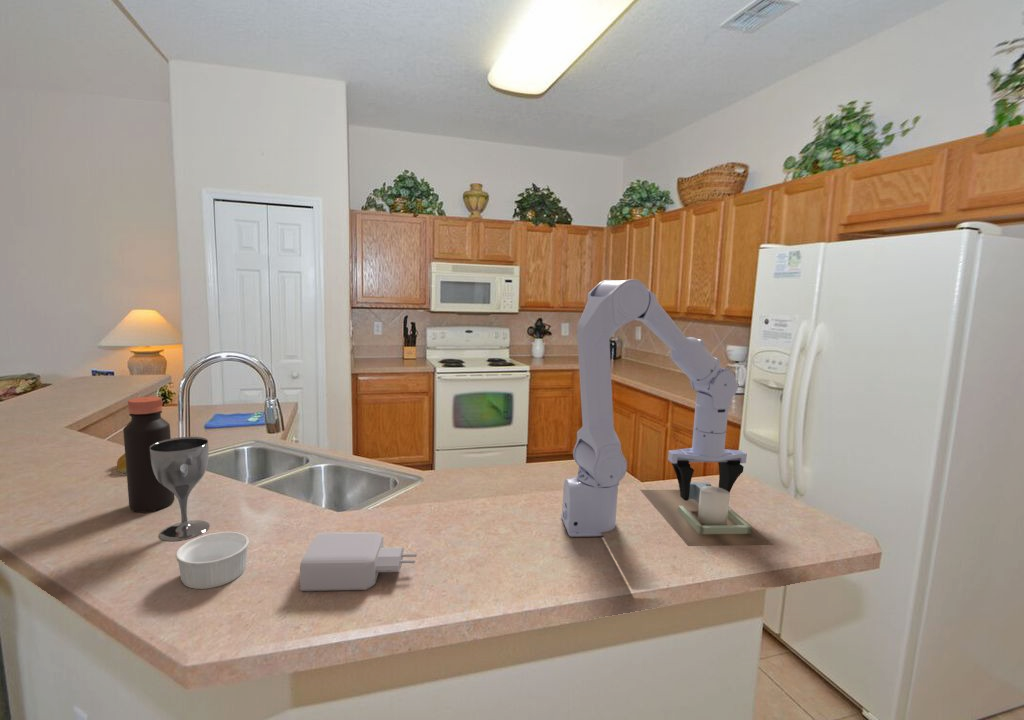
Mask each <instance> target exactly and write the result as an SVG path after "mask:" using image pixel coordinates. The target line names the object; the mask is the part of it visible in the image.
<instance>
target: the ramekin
mask: <svg viewBox="0 0 1024 720" xmlns="http://www.w3.org/2000/svg"><path fill="white" fill-rule="evenodd" d="M249 541H250V540H249V537H248V536H247V535H246V534H243V533H242V532H241V533H240V532H237V531H236V532H235V531H218V532H214V533H213V532H212V533H208V534H205V535H203V534H202V535H199V536H196V537H194V538H192V539H189V541H186V543H184V544H182V545H181V546H180V547H179V548H178V549H177V550H176V552H175V558H176V561H177V563H178V569H179V574H180V580H181V582H182V583H183V584H184V586H186V587H188V588H190V589H195V590H207V589H213V588H218V587H221V586H224V585H227V584H229V583H230V582H232V581H235V580H236V579H237V578H239V577H240V576H241V575H242V574H243V573H244V571H245V570H246V568H247V554H248V548H249V544H250V542H249Z"/></svg>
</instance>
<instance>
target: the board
mask: <svg viewBox="0 0 1024 720" xmlns="http://www.w3.org/2000/svg"><path fill="white" fill-rule="evenodd" d="M640 491H641V493H642V494H643V495H644V496H645V498H646V499H647V500H648V501H649V503H651V505H652V506H653V507H654V508H655V509H656V511H657V512H659V514H660V515H661V516H662V517H663V519H664V520H665V521H666V522H667V523H668V524H669V526H670V527H671V528H672V529H673V530H674V531H675V533H676V534H677V535H678V536H679V537H680V538H681V539H682V541H683V542H684V543H685V544H686V546H688V547H689V546H690V547H694V546H695V547H696V546H697V547H698V546H701V547H702V546H705V547H707V546H765V545H766V546H770V545H771V546H774V543H773V542H772V541H770V540H769V539H768V538H766V537H765V535H763V534H762V533H761V532H759V531H758V530H757V529H755V527H754V526H752V525H751V524H750V523H749V522H747V521H746V520H745V519H744V518H743V517H741V516H740V515H739V514H738V513H737V512H735V511H734V509H732V508H731V507H730V506H729V508H730V509H731V510H732V511H733V512H735V513H736V514H737V515H738V516H739V517H741V518H742V519H743V520H744V521H745V522H747V523H748V524H749V525H750V526H751V527H752V534H698V533H697V532H696V531H695V529H694V528H693V527H692V526H691V525H690V524H689V523H688V522H687V521H686V520H685V519H684V518H683V517H682V516H681V515H680V514H679V512H678V506H683V507H684V508H685V509H686V510H687V511H688V512H689V513H690V514H691V515H692V516H693V517H694V518H695V519H696V520H697V518H698V507H699V504H698V503H697V502H696V501H695V500H694V499H688V500H687V501H685V500H684V499H683V498H682V497H681V496H680V489H640ZM727 525H737V524H735V523H734V522H733V521H732V520H731V519H730V518H729V517H727ZM702 526H703V525H702Z"/></svg>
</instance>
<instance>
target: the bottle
mask: <svg viewBox="0 0 1024 720" xmlns="http://www.w3.org/2000/svg"><path fill="white" fill-rule="evenodd" d="M127 408H128V409H127V411H128V414H129V416H130V418H131V420H130V421H129V422H128V423H127V424H126V425H125V426H124V428H122V429H123V441H124V442H123V443H124V446H123V447H124V454H125V458H126V471H127V473H126V479H127V481H126V484H127V494H128V495H127V498H128V506H129V509H130V511H133V512H136V513H147V512H149V513H150V512H155V511H159V510H162V509H165V508H166V507H169V506H170V505H172V504H173V503H174V501H175V495H174V494H173V493H172V492H171V491H170V490H168V489H167V488H165V487H164V486H162V485H161V484H160V483H159V482H158V481H157V479H156V477H155V475H154V472H153V469H152V465H151V460H150V446H151V445H153V444H154V443H157V442H160V441H163V440H167V439H172V438H171V425H170V423H169V422H168V421H167V420H165V419H164V418H163V417H162V415H161V414H162V413H163V399H162V397H160V396H140V397H135V398H130V399H129V400H127Z"/></svg>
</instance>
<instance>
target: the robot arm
mask: <svg viewBox="0 0 1024 720" xmlns="http://www.w3.org/2000/svg"><path fill="white" fill-rule="evenodd" d="M632 321H639V322H640V323H641V322H642V324H644V325H645V326H646V327H647V328H648V329H649V330H650V331H651V332H652V333H653V334H654V335H655V336H657V337H658V339H659V340H660V341H662V342H663V343H664V345H665V346H667V347H668V348H669V349H670V354H669V356H670V360H671V361H672V362H673V363H674V364H675V365H676V366H677V368H679V369H680V370H681V372H682V373H683V374H684V375H685V376H687V378H688V379H689V384H690V387H691V389H692V390H694V391H695V392H696V395H695V397H696V398H695V407H694V408H695V409H694V417H693V418H694V420H693V428H692V429H693V430H692V442H691V444H692V445H691V447H689V448H681V449H672V450H671V449H670V450H668V452H667V453H668V454H667V455H668V457H667V461H669V462H670V464H671V466H672V468H673V470H674V473H675V475H676V478H677V479H676V480H677V482H678V487H679V488H678V490H680V496H681V497H682V498H683V499H684V500H685V501H687V500H688V499H689V494H690V483H691V482H692V478H693V475H694V472H695V469H694V468H692V467H691V464H690V463H718V473H719V478H718V487H719V488H722V489H724V490H726V491H728V492H729V493H730V492H731V490H732V488H733V486H734V484H735V482H736V480H737V479H738V478H739V477H740V475H742V473H743V472H744V466H743V465H742V464H747V455H748V454H747V452H745V451H743V450H737V449H725V448H726V440H727V439H726V437H727V429H728V428H727V427H728V417H729V409H730V407H731V406H732V401H733V400H732V399H733V398H734V396H735V395H736V394H737V391H738V389H739V383H737V378H736V376H735V374H734V372H732V370H730V369H729V368H725V367H722V365H721V364H720V363H721V361H720V359H718V358H717V357H714V356H713V355H712V354H711V353H710V352H709V351H708V349H707V348H706V347H705V346H706V342H704V340H703V339H699V338H696V337H694V336H688V337H687V336H686V335H685V333H683V332H682V330H681V329H680V327H678V325H677V324H676V323H675V322H674V320H673V319H672V318H671V316H670V315H669V314H668V313H667V312H666V310H665V308H663V307H662V305H661V304H660V303H659V302H658V300H657V296H656V294H655V293H654V292H653V291H651V290H649V289H648V287H647V286H646V284H644V282H642V281H640V280H639V279H631V278H629V279H626V280H624V279H623V280H614V279H605V280H602V281H600V282H599V283H597V284H596V285H595V286H594V287H593V288H592V289H591V290H590V291H589V292H588V293H587V302H586V305H585V307H584V310H583V311H582V314H581V317H580V318H579V320H578V323H577V327H576V336H577V337H576V339H577V355H578V373H579V388H580V405H581V407H580V408H581V423H582V426H581V428H579V429H578V430H577V432H576V442H575V445H574V448H573V451H572V452H573V453H572V456H573V460H574V462H575V464H576V465H577V466H578V470H577V471H578V472H577V476H575V477H572V478H566V479H565V480H564V482H563V490H562V509H561V510H562V511H561V520H562V522H563V524H564V526H565V528H566V531H567V534H568V536H569V537H573V538H575V537H580V538H581V537H604V535H603V533H606V532H610V531H612V530H614V529H615V528H616V523H617V521H616V520H617V510H618V509H617V506H618V493H619V485H620V482H621V481H622V480H623V479H624V477H625V476H626V473H627V470H628V462H627V459H626V457H625V456H624V454H623V451H622V443H621V441H620V438H619V436H618V434H617V432H616V431H615V428H614V412H613V410H614V409H613V407H614V406H613V391H612V390H613V388H612V386H613V385H612V370H611V369H612V366H611V365H612V364H611V347H610V339H611V338H612V336H613V335H614V334H615V333H616V332H617V331H619V329H620V328H621V327H622V326H624V325H626V324H628V323H630V322H632ZM730 494H731V493H730Z"/></svg>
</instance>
